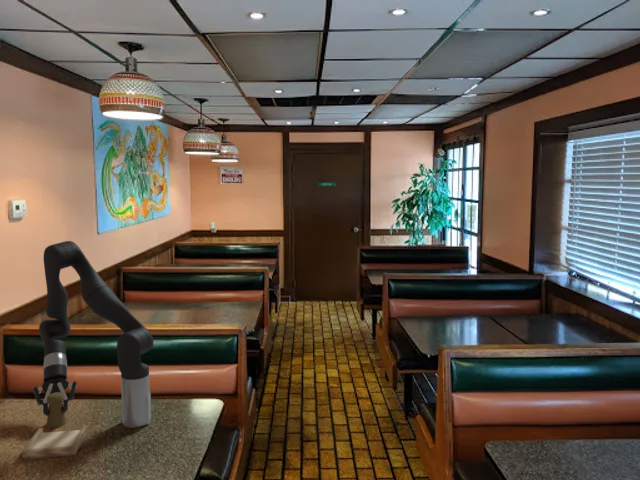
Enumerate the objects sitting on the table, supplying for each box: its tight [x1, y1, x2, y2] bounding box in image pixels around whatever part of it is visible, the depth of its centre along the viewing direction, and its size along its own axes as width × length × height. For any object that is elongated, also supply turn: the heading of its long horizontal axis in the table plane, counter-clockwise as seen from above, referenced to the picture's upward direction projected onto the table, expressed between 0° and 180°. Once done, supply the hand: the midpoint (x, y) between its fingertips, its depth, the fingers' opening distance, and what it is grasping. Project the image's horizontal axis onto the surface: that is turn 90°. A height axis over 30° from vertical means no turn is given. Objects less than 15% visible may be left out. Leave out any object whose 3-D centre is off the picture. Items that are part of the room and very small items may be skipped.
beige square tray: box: [21, 424, 89, 461], centre depth 159 cm, size 15×15×2 cm
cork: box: [46, 392, 67, 429], centre depth 172 cm, size 6×6×11 cm
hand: (55, 413), depth 170 cm, fingers closed on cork, 4 cm apart
